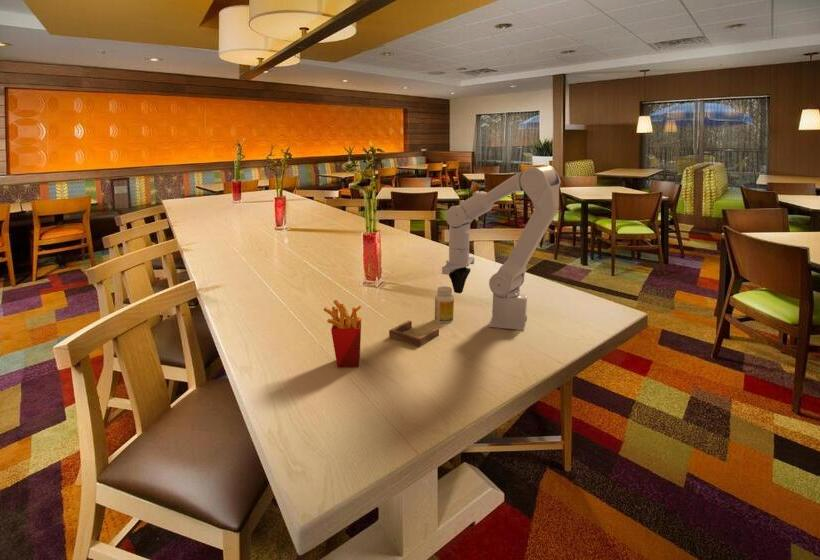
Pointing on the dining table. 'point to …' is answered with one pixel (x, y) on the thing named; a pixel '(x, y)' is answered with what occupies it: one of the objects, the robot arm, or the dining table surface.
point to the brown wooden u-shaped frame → (417, 341)
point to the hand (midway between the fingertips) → (458, 292)
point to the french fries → (345, 335)
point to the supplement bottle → (444, 305)
